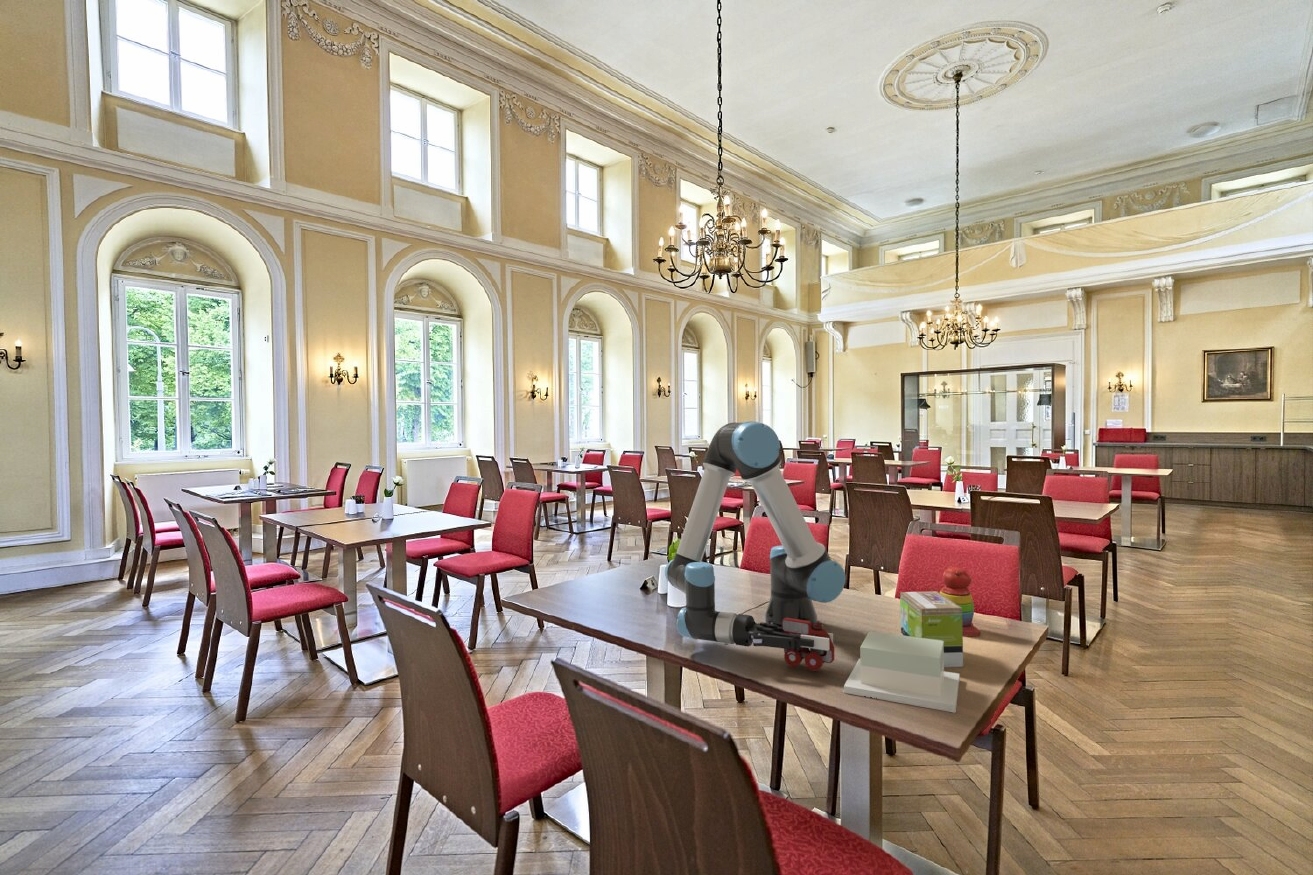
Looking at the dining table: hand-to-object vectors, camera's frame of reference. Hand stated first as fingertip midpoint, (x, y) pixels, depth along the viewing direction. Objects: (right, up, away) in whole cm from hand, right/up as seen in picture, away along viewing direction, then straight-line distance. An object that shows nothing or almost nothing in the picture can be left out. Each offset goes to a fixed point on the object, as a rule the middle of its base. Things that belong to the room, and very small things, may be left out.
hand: (830, 641), depth 146 cm
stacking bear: (+44, -7, +30) cm, 54 cm away
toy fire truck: (-5, -6, +3) cm, 8 cm away
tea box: (+28, -7, +10) cm, 31 cm away
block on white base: (+14, -8, -7) cm, 17 cm away
